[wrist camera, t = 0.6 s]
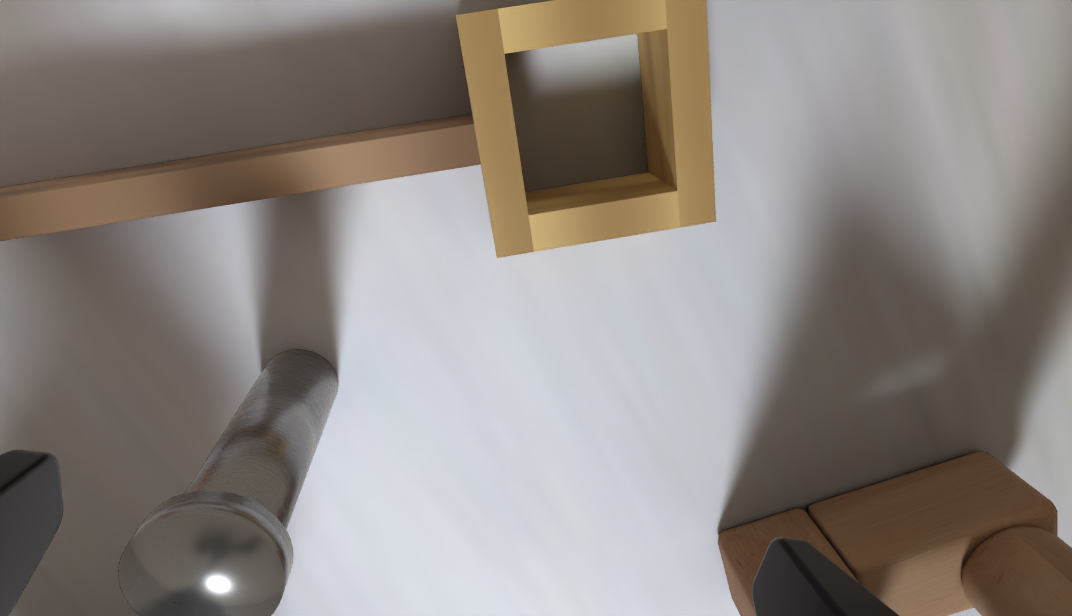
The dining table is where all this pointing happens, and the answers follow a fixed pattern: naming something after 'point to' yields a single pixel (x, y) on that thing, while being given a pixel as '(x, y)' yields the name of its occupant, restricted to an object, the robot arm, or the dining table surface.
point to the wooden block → (928, 542)
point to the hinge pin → (236, 504)
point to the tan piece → (454, 144)
